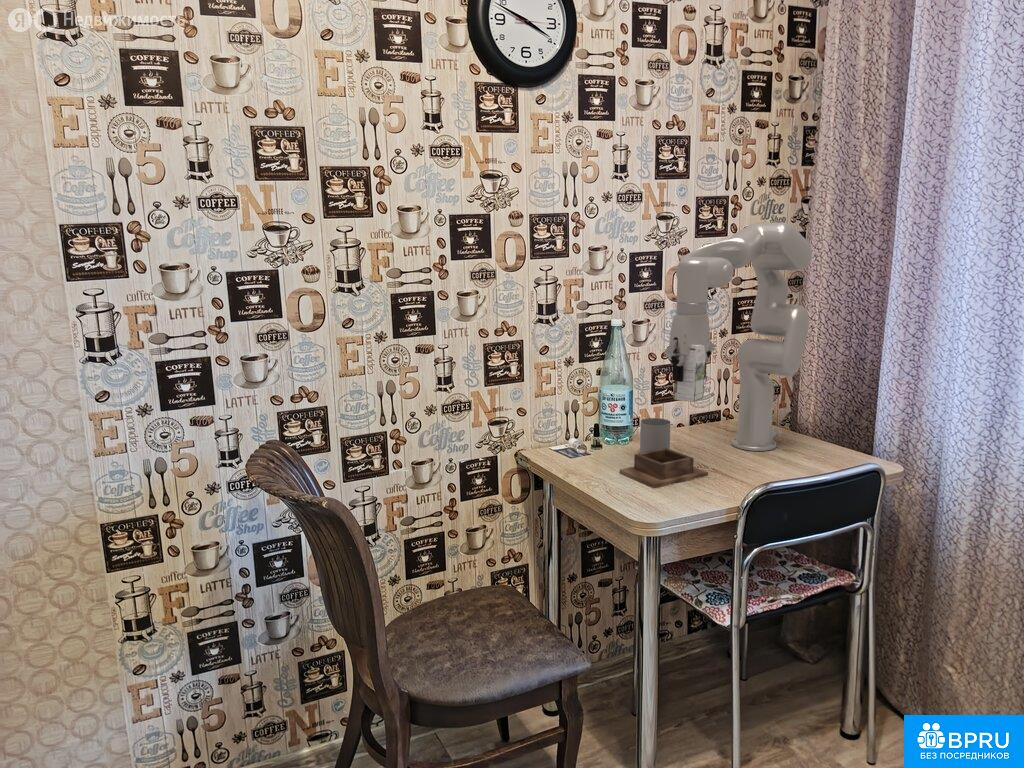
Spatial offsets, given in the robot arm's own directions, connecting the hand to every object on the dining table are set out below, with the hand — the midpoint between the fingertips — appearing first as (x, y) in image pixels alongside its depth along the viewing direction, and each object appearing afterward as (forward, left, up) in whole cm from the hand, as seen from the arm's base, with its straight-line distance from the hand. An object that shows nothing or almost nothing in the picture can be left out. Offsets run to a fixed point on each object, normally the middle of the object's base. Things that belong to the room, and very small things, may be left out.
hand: (689, 378), depth 191 cm
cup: (-5, -18, -26) cm, 32 cm away
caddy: (+4, -4, -26) cm, 27 cm away
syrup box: (0, 0, -6) cm, 6 cm away
